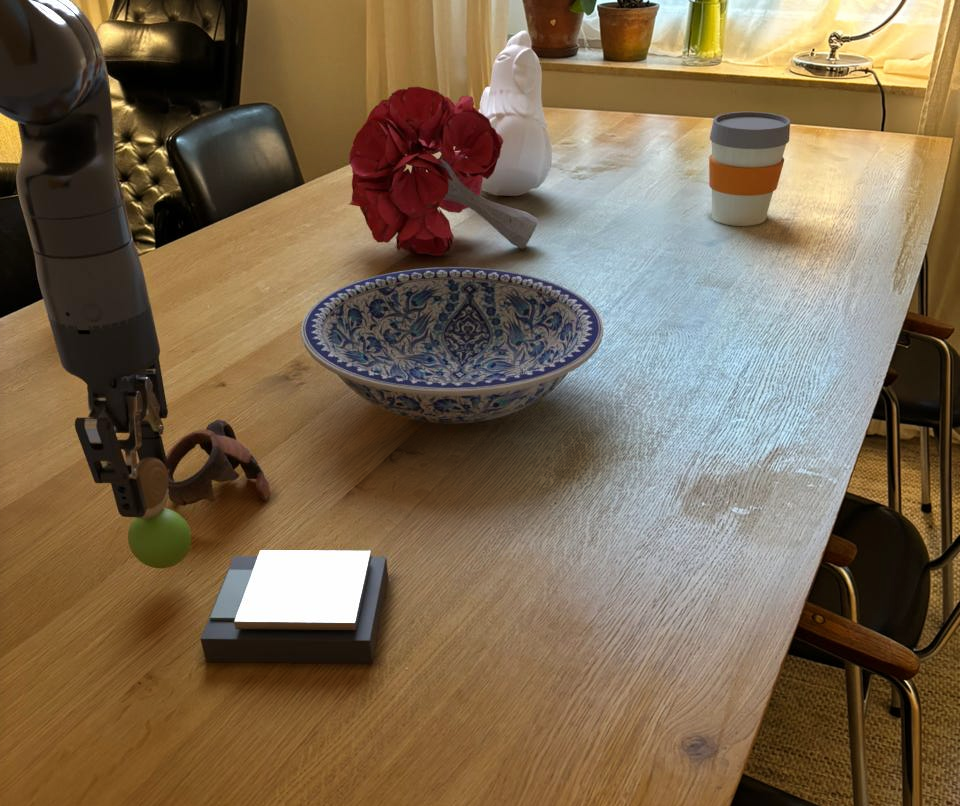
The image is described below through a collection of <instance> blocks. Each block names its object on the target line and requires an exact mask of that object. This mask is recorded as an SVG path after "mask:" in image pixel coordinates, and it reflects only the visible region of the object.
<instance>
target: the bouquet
mask: <svg viewBox="0 0 960 806" xmlns="http://www.w3.org/2000/svg"><path fill="white" fill-rule="evenodd" d="M474 105H475V102H474V98H473V96H470V95H461V97H460V98H458V100H457V102H456V103H454V102H453V101H452V100H451V99H450V98H449V97H447V96H444V95H443V94H442V93H440V92H439V91H437V90H434V89H428V88H425V87H421V86H409V87H408V88H407V89H406V88H402V89H397V90H395V91H394V92H392V93H391V95H390V96H389V97H388V99H382V100H381V101H380V102H379V103H378V104H377V105H375V106H374V108H372V110H371V111H370V112H369V114H368V116H367V119H366V122H365V123H364V124H363V125H362V126H361V128H360V129H359V130H358V132H356V135H355V136H354V139H353V142H352V146H351V149H350V151H349V165H350V167H351V170H352V178H351V188H352V193H351V200H350V202H349V203H348V205H350V206H353V207H354V206H355V207H359V210H360V211H361V213H362V215H363V216H364V219H365V223H366V225H367V227H368V229H369V230H370V232H371V236H372V239H373V240H375V242H377V243H380V244H382V243H385V244H388V243H390V242H391V241H392V239H393V238H394V237H395V236H396V237H395V239H396V241H395V242H396V252H399V251H401V249H402V250H404V251H406V252H407V251H408V252H414V253H417V254H425V255H426V254H428V255H431V256H435V257H436V256H442V255H443V256H444V255H445V254H448V253H450V250H451V248H452V249H454V244H455V243H454V242H455V236H454V234H453V232H452V229H451V228H452V227H451V224H450V220H449V218H447V216H446V215H445V214H444V212H443V211H446V212H448V213H458V214H460V213H462V212H463V210H466V209H470V210H472V211H474V212H475V213H477V214H478V215H479V216H480V217H482V218H483V219H484V220H485V221H486V222H487V223H488V224H489V225H491V227H492V228H493V229H494V230H496V231H497V233H499V234H500V235H501V236H502V237H504V238H505V239H506V240H507V241H508V242H509V243H510V244H511V245H513V246H515V247H517V248H519V249H521V250H523V249H525V247H526V246H527V245H528V243H529V241H530V239H531V238H532V236H533V234H534V232H535V230H536V228H537V224H538V222H539V219H538V218H537V217H535V216H534V215H532V214H530V213H529V212H527V211H524V210H520V209H517V208H514V207H511V206H507V205H504V204H501V203H498V202H494V201H492V200H489V199H486V198H483V197H482V196H481V193H482V190H481V185H482V181H483V177H484V178H486V179H488V178H489V177H490V176H491V175H492V174H493V172H494V169H495V167H496V164H497V160H498V158H499V157H500V151H501V148H502V144H503V140H502V137H501V136H500V135H499V134H497V133H496V130H495V129H494V128H492V127H491V124H490V120H489V119H488V118H487V117H485V116H484V115H483V114H481V113H479V110H477V108H475V107H474ZM438 153H440V156H439V157H437V156H434V155H435V154H438ZM466 157H467V158H466ZM407 166H411V170H410V169H409V168H407ZM441 209H442V210H443V211H442V210H441Z"/></svg>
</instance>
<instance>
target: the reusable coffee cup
mask: <svg viewBox="0 0 960 806" xmlns="http://www.w3.org/2000/svg"><path fill="white" fill-rule="evenodd" d="M790 131H791V120H790V119H789V118H788V117H786V116H784V115H781V114H775V113H771V112H765V111H764V112H763V111H733V112H726V113H722V114H718V115H715V116H714V118H713V120H712V125H711V129H710V134H709V140H710V141H711V153H710V155H709V157H708V185H709V188H710V189H711V219H712V220H713V221H715V222H717V223H719V224H723V225H726V226H736V227H748V226H756V225H759V224H762V223H764V222H765V221H766V219H767V215H768V212H769V209H770V205H771V201H772V197H773V193H774V192H775V191H776V190H777V188H778V185H779V181H780V178H781V174H782V172H783V171H782V170H783V167H784V163H785V158H784V153H785V149H786V147H787V144H788V143H789V142H790V134H791V132H790Z"/></svg>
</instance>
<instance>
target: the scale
mask: <svg viewBox="0 0 960 806" xmlns="http://www.w3.org/2000/svg"><path fill="white" fill-rule="evenodd" d="M257 557H258V555H233V556H232V558H231V562H230V564H229V567H228V569H227V571H226V573H225V576H224V579H223V581H222V584H221V586H220V589H219V591H218V594H217V597H216V599H215V601H214V604H213V607H212V609H211V611H210V614H209V617H208V619H207V622H206V624H205V626H204V629H203V631H202V634H201V637H200V643H201V646H202V650H203V655H204V659H205V662H206V663H265V664H266V663H269V664H270V663H273V664H274V663H275V664H276V663H279V664H353V665H354V664H357V665H358V664H361V665H363V664H365V665H366V664H367V665H368V664H369V665H370V664H371V665H372V664H374V659H375V658H374V657H375V651H376V647H377V646H376V645H377V641H378V637H379V631H380V626H381V622H382V621H381V620H382V615H383V610H384V605H385V600H386V599H385V598H386V595H387V588H388V584H389V572H388V571H389V570H388V561H387V560H388V559H387V556H371V563H370V567H369V572H368V577H367V581H366V586H365V591H364V595H363V600H362V605H361V609H360V614H359V619H358V623H357V628H356V630H276V629H235V624H234V620H235V618H236V615H237V612H238V609H239V607H240V604H241V601H242V598H243V596H244V593H245V590H246V588H247V585H248V582H249V579H250V577H251V574H252V571H253V568H254V566H255V563H256V560H257Z"/></svg>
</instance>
